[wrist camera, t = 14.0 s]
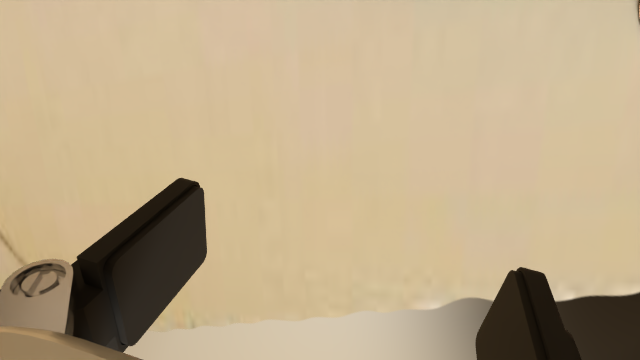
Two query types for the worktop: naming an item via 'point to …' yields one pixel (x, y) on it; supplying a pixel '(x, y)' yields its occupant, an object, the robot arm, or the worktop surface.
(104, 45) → the worktop surface
